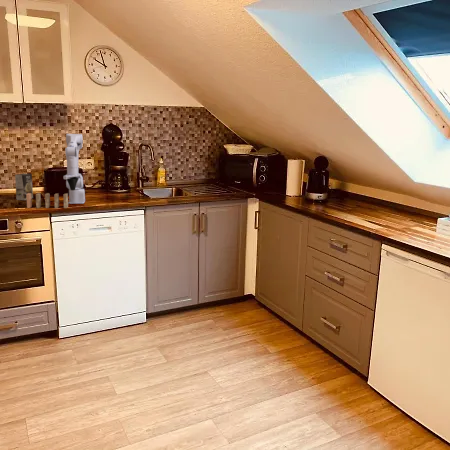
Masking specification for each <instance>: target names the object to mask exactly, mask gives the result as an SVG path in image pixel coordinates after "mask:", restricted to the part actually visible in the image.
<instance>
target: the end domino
mask: <svg viewBox="0 0 450 450" xmlns="http://www.w3.org/2000/svg"><path fill="white" fill-rule="evenodd" d="M26 196H27V200H26V209H30V208H32V207H33V200H32V199H33V198H31V193H28V194H26Z"/></svg>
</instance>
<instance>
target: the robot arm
mask: <svg viewBox="0 0 450 450" xmlns="http://www.w3.org/2000/svg"><path fill="white" fill-rule="evenodd" d="M83 139H84V138H83V134H82V133H65V141H66V142H65V143H66V147H65V150H64V151H65V160H66V174H65V175H63V180H66V181H65V185H66V186H65V187H66V188H67V189H68V196H69V197H68V204H71V205H72V204H75V205H76V204H85V202H86V194H85V193H86V191H85V188H84V178H83V175H82V173H79V153H80V150H81V149H83V147H84V146H83V142H84V141H83Z"/></svg>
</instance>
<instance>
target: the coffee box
mask: <svg viewBox="0 0 450 450" xmlns="http://www.w3.org/2000/svg"><path fill="white" fill-rule="evenodd" d="M14 177H15V179H14V180H15V181H14V182H15V196H16V200H17V201H27V196H26V194H28V193H31V198H32V199H34V191H33V176H32V173H18V174H15V175H14Z"/></svg>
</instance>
